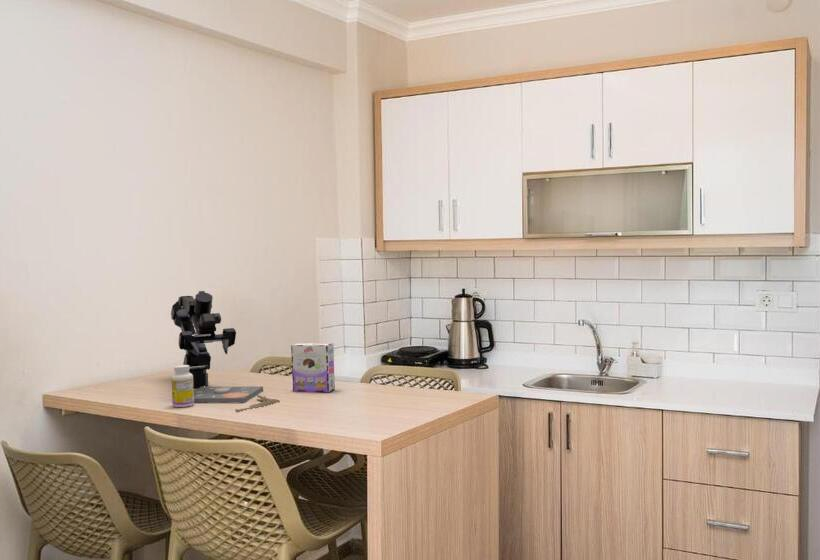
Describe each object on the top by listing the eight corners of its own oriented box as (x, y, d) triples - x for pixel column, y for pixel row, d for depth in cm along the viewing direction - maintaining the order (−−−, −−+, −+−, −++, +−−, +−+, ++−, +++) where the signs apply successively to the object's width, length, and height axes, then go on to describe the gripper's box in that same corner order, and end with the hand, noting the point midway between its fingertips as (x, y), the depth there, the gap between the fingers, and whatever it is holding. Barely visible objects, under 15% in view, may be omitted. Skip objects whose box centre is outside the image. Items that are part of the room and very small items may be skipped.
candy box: (335, 390, 281) (334, 342, 280) (328, 393, 275) (327, 345, 274) (299, 388, 285) (298, 342, 284) (291, 391, 280) (290, 344, 279)
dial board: (178, 402, 264) (178, 394, 264) (202, 390, 285) (202, 383, 285) (244, 403, 261) (243, 394, 261) (263, 390, 282) (262, 383, 282)
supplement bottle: (175, 404, 262) (173, 364, 261) (195, 403, 263) (194, 364, 262) (170, 408, 255) (169, 367, 255) (192, 407, 256) (190, 367, 255)
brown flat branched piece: (283, 402, 266) (283, 396, 266) (262, 416, 246) (262, 410, 246) (257, 399, 268) (257, 393, 267) (234, 414, 247) (234, 407, 247)
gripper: (177, 308, 272) (186, 337, 261) (232, 305, 281) (243, 333, 270) (174, 334, 278) (183, 363, 267) (228, 330, 287) (239, 358, 275)
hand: (213, 354), depth 270 cm, fingers open, 9 cm apart
